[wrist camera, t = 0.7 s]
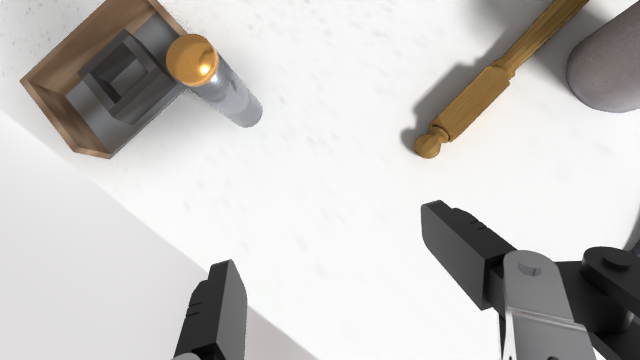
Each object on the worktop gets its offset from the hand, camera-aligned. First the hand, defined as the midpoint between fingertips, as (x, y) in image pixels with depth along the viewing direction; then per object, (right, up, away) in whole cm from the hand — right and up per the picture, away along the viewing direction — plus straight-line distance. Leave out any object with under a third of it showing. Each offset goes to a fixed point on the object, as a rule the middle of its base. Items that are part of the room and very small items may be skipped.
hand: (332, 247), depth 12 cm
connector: (-10, +11, +24) cm, 28 cm away
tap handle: (+21, +16, +22) cm, 35 cm away
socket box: (-24, +15, +26) cm, 39 cm away
